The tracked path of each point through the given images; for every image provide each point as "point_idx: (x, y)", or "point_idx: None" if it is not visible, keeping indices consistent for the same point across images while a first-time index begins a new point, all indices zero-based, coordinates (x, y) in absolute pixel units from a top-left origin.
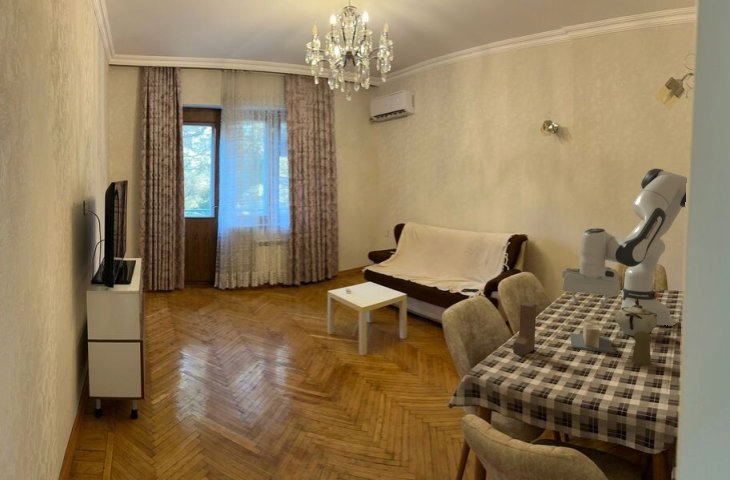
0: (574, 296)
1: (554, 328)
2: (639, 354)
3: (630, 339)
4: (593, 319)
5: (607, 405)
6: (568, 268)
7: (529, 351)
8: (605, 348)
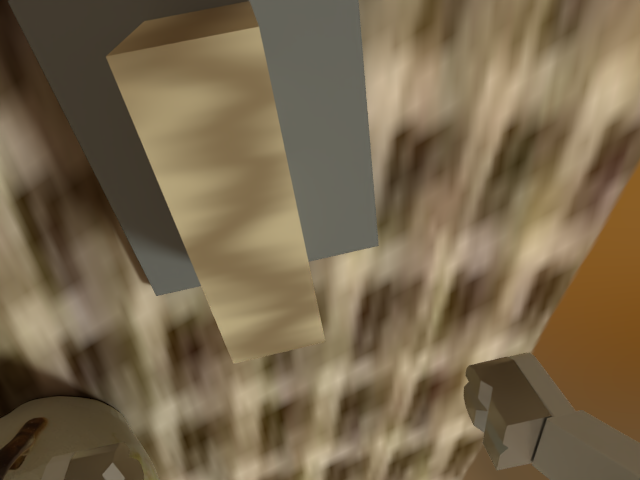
0: (611, 453)
1: (460, 286)
2: None
3: (49, 351)
4: (253, 357)
5: None
6: None
7: None
8: (92, 44)
